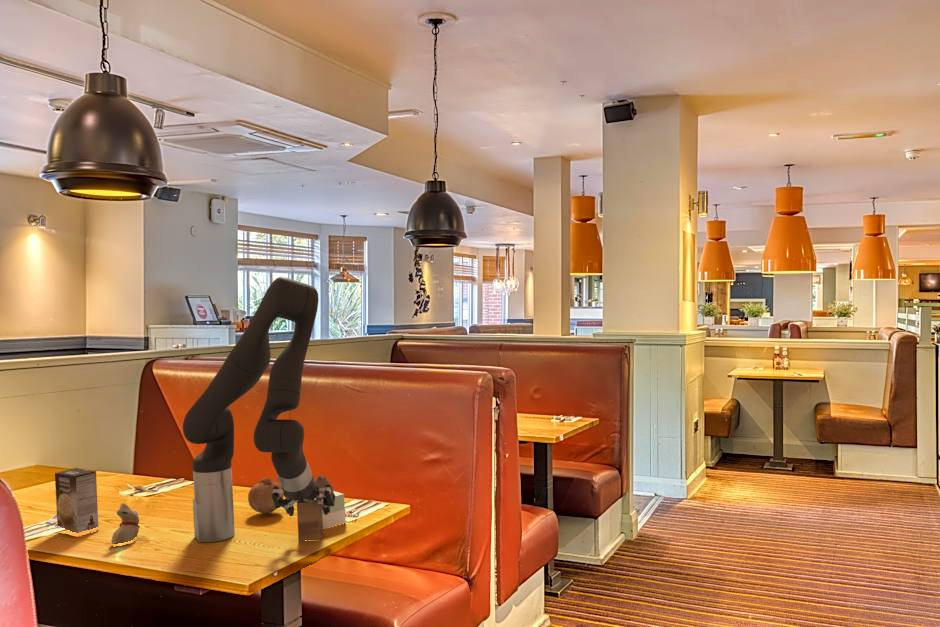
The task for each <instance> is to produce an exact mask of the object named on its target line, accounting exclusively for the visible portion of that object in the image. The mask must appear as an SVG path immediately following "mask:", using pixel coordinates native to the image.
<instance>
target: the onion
mask: <svg viewBox="0 0 940 627" xmlns="http://www.w3.org/2000/svg"><path fill="white" fill-rule="evenodd" d="M275 486H277V487H278V488H279V489H282V487H281V485H280V483H278V482H276V481H274V480H272V479H270V478H267V477H264V478H262V479H261V480H259V482H258V483H256V484H254V485H253V486H252V487H251V488H250V489H249V491H248V496H247V501H248V505H249V507H250V509H252V510H254V511H255V512H257V513H260V514H262V515H268V514H271V513H273V512H275V511H276V510H277V509H278V508H276V507H275V505H274V502H273V499H272V492H273V487H275ZM281 497H282V499H284V495H282V496H281Z"/></svg>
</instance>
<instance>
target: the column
mask: <svg viewBox="0 0 940 627" xmlns="http://www.w3.org/2000/svg"><path fill="white" fill-rule="evenodd" d="M314 500H316V498H315V499H314ZM321 501H322V499H321ZM296 512H297V513H296V514H297V518H296V519H297V537H298V538H297V539H298V542H299V541H300V542H309V541H308V540H319V539H320V538H322V537H323V536H324V530H323V515H322V507H321V506H319V505H318V506H315V505H313V504H311V503H296ZM322 535H323V536H322ZM321 536H322V537H321ZM305 540H307V541H305ZM320 540H321V539H320ZM320 540H319V541H320Z"/></svg>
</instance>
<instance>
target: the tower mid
mask: <svg viewBox="0 0 940 627" xmlns="http://www.w3.org/2000/svg"><path fill="white" fill-rule="evenodd" d="M333 492H334V494H335V503H334V506H331V507H330V513H332V512H336V511H340V510H344V509H345V508H346V504H345V494H344V493H341V492H338V491H335V490H334V491H333ZM322 502H323V499H322ZM345 510H346V509H345ZM328 514H329V513H328ZM322 515H325V514H324V512H323V509H322Z"/></svg>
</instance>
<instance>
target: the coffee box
mask: <svg viewBox="0 0 940 627" xmlns="http://www.w3.org/2000/svg"><path fill="white" fill-rule="evenodd" d="M54 481H55V503H56V522H57V524H56V525H57V527H58V526H60V527H62V528H65V529H67V530H70V531H72V532H76V533H79V532H82V531H86V530H90V529H93V528H96V527H98V528H99V512H98V511H99V509H98V508H99V507H98V506H99V505H98V490H97V488H98V487H97V486H98V484H97V471H96V470H93V469H92V470H91V469H85V468H79V467H74V468H70V469H66V470H62V471H58V472H55V473H54Z"/></svg>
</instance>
